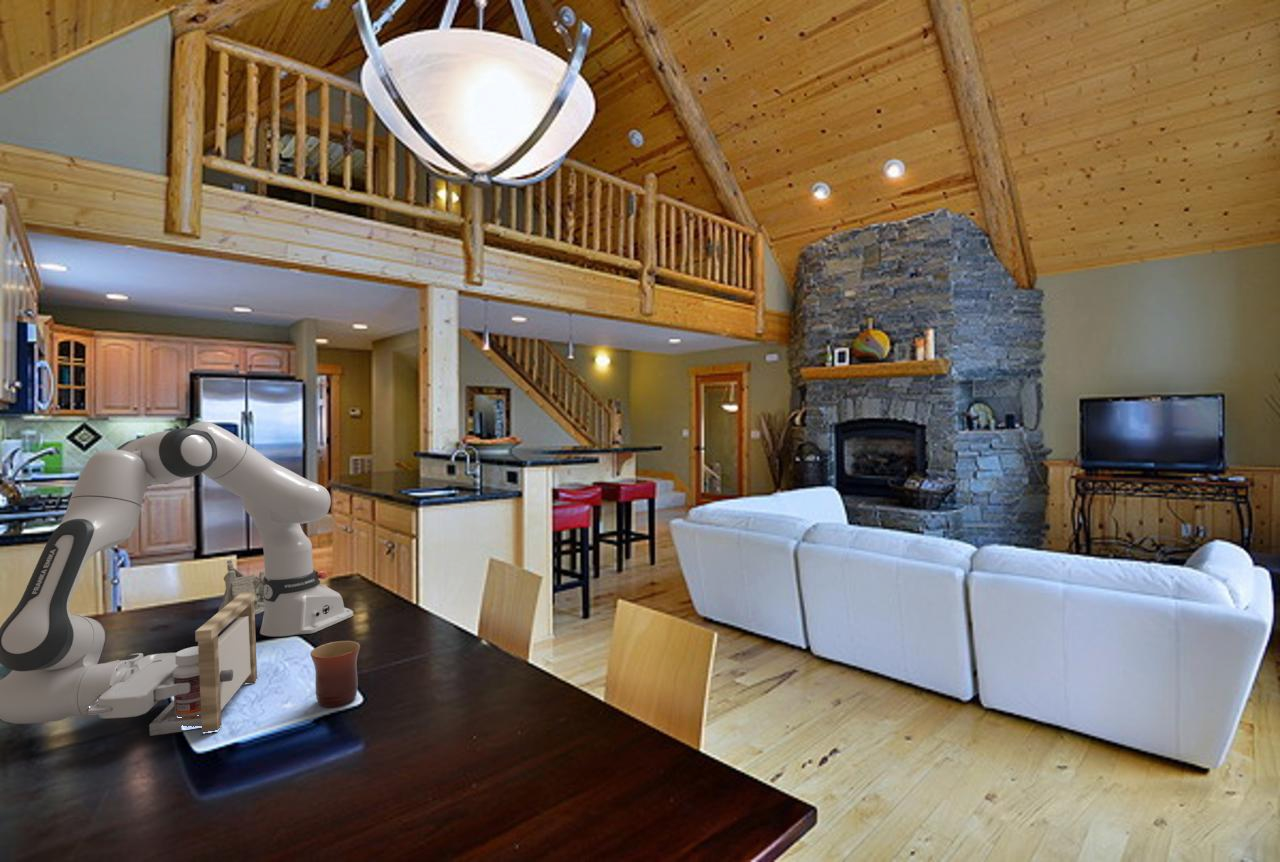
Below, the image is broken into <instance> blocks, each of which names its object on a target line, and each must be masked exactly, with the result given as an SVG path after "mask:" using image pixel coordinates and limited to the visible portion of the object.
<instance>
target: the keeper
mask: <svg viewBox="0 0 1280 862" xmlns="http://www.w3.org/2000/svg"><path fill="white" fill-rule="evenodd" d="M182 725H183V726H187V727H188V726H192V727H193V726H194V727H195V726H202V722H201V715H199V716H191V717H184V718H176V715H175V709H174V699H173V700H172V701H171V702H170V703H169V704H168V705H167V706H166V707H165V708H164V709H163V710H162V711H161V712H160V713H159V715H157V716H156V717H155V718H154V720H152V722H150V724H149V725H148V726H149V728H148V729H149V736H150V737H151V736H158V735H159V736H160V735H167V734H175V733H181V732H182V731H181V726H182Z"/></svg>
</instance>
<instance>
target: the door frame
mask: <svg viewBox="0 0 1280 862" xmlns="http://www.w3.org/2000/svg"><path fill="white" fill-rule="evenodd" d="M255 599H256V598H255V591H247V592H242V593H240V594H239V595H238V596H237V597H236V598H235V599H233V600H232V601H231V602H230V603H229V604H227V605H226V606H225V607H224V608H223V609H221V610H220V611H219V610H218V611H219V612H218V611H217V613H216V614H214V615H213V616H212V617H211V618H209V619H208V620H207V621H206V622H205V623H204V624H202V625H201V626H200V627H199V628H197V629H196V630H195V631H194V632H195V633H194V635H195V636H194V637H195V639H194V640H195V642H197V646H198V653H199V676H200V699H201V722H202V729H201V733H202V732H208V731H215V730H218V729H219V728H220V726H221V725H223V724H222V711H221V699H220V676H219V652H218V637H219V634H220V633H221V632H222V631H223V630H224V629H225V628H226V627H227V626H228V625H229V624H230V623H232V622H234V620H236V619H235V618H236V617H237V616H238V617H246V616H248V617H249V642H250V667H251V674H250V675H249V676H248V677H247V679H246V680H245V681H244V682H243V684H245V683H254V682H255V681H256V679H257V680H258V664H257V643H256V642H257V640H256V637H257V636H256V617H255V616H256V614H255V611H254V600H255ZM256 682H257V681H256ZM256 682H255V683H256ZM255 683H254V684H255Z"/></svg>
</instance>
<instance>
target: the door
mask: <svg viewBox="0 0 1280 862" xmlns="http://www.w3.org/2000/svg"><path fill="white" fill-rule="evenodd" d="M218 652H219V676H220V699H221V710H222V709H223V708H224V709H225V707H226V706H227V705H228V704H227V703H229V701H230V700H231V698H232V697H233V696H234V695H235V694H236V692H238V690H239V689H240V687H241V686H243V685H242V684H243V682H244V681H245V680H246V679H247V677H248V676H249V675H250V674H251V667H250V642H249V617H248V616H246V617H239V618H238V619H235V621H233V623H232V624H231V625H229V626H228V627H227V628H226V629H225V630H224V631H223V632H222V633H221V634H220V635H218ZM226 704H227V705H226ZM225 705H226V706H225ZM224 706H225V707H224ZM224 709H223V710H224ZM223 710H222V711H223Z"/></svg>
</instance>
